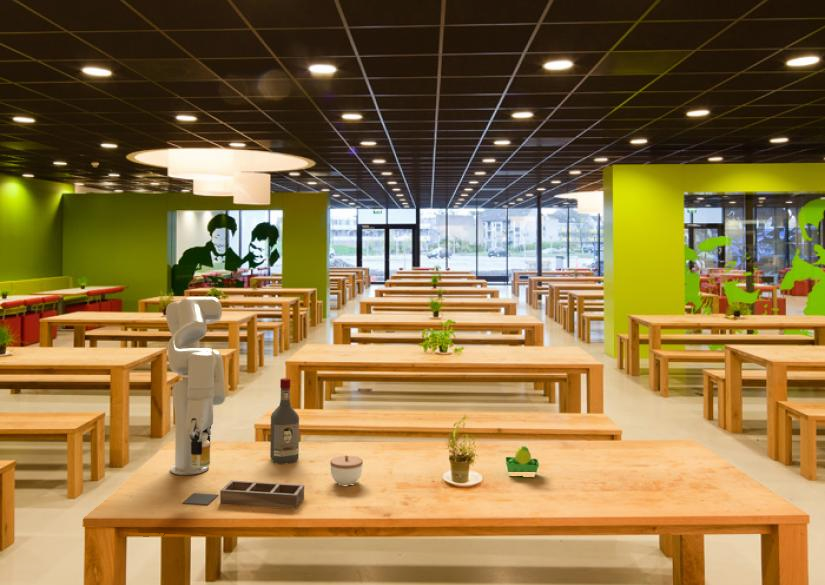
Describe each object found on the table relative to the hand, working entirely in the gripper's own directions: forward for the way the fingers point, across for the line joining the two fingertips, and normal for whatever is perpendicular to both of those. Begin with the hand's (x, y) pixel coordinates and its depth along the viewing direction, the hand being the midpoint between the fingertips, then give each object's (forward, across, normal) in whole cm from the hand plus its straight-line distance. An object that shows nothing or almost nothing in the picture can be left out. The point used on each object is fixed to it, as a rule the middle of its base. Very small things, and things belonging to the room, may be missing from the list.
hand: (200, 450), depth 206 cm
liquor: (+15, -42, +14) cm, 47 cm away
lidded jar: (+16, -22, +41) cm, 49 cm away
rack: (+15, -2, +19) cm, 24 cm away
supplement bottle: (+5, 0, 0) cm, 5 cm away
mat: (+15, 0, 0) cm, 15 cm away
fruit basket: (+16, -40, +100) cm, 109 cm away
